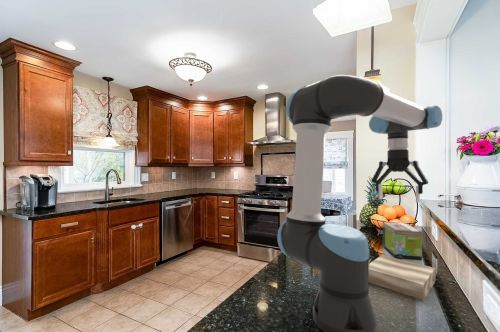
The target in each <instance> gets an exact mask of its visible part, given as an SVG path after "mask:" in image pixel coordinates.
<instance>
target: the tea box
mask: <svg viewBox="0 0 500 332" xmlns="http://www.w3.org/2000/svg"><path fill="white" fill-rule="evenodd" d="M382 255H384V256H388V257H392V258H396V259H400V260H404V261H408V262H412V263H416V264H421V265H423V231H422V230H421V229H418V228H416V227H414V226H412V225H410V224H409V223H405V222H390V221H389V222H387V221H386V222H385V221H384V222H383V221H382Z"/></svg>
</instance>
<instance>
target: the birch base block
mask: <svg viewBox="0 0 500 332" xmlns="http://www.w3.org/2000/svg"><path fill="white" fill-rule="evenodd" d="M369 283H370V284H371V285H372V284H373V285H376V286H378V287H381V288H382V287H383V288H385V289H387V290H388V289H389V290H391V291H394V292H398V293H400V294H404V295H406V296H409V297H413V298H415V299H418V300H421V301H424V300H425V298H426V297H427V296H428V294H429V292H430V291H431V289H432V288H433V286H434V285H435V283H436V267H431V266H428V265H426V264H425V265H424V264H422V265H421V264H416V263H412V262H408V261H404V260H400V259H396V258H392V257H388V256H384V255H383V254H381V255H380V256H378V257H377V258H375V259H374V260H372V261H371V262H370V263H369Z"/></svg>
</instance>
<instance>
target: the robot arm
mask: <svg viewBox="0 0 500 332" xmlns="http://www.w3.org/2000/svg"><path fill="white" fill-rule="evenodd" d="M285 111H286V116H287V117H288V120H289V122H290V123H291V124H292V130H293V131H294V132H295V133H296V142H295V158H294V172H293V186H292V187H293V188H292V199H291V200H292V203H291V204H292V205H291V210H290V211H289V212H288V213H287V214H286V218H285V220H284V221H283V222H282V223H281V226H279V228H278V231H277V238H276V239H277V244H278V247H279V249H280V251H281V252H282V253H283V255H285V256H286V257H287V258H289V259H291V260H292V261H294V262H296V263H297V262H298V263H299V264H302V265H304V266H307V267H308V268H311V269H313V270H315V271H317V272H318V273H319V286H318V287H319V288H318V291H317V293H316V297H315V300H314V302H313V306H312V319H313V322H314V324H315V326H316V327H317V326H318V327H319V328H320V329H321V330H320V329H319V328H318V327H317V328H318V329H319V330H320V331H322V330H323V331H324V332H378V319H377V316H376V313H375V310H374V306H373V304H372V301H371V297H370V295H369V294H370V292H369V291H370V289H369V287H370V285H369V264H370V263H369V262H370V251H369V240H368V238H367V236H366V235H365V234H364V233H363V232H362V231H360V230H359V229H356V228H354V227H351V226H348V225H345V224H338V223H327V221H326V220H327V219H326V218H325V217H324V215H323V214H322V213H321V212H322V211H321V210H322V196H323V184H324V183H323V182H324V181H323V179H324V178H323V177H324V163H325V147H326V145H325V144H326V134H328V132H329V131H330V130H331V129H332V121H333V120H336V119H339V118H344V117H351V116H359V117H369V116H371V117H370V119H369V121H368V127H369V130H370V131H371V132H373V133H376V134H379V135H381V134H382V135H383V134H384V135H387V136H386V137H387V146H386V147H387V149H388V150H387V159H386V160H387V161H381V160H380V161H379V164H378V167H377V169H376V171H375V173H374V175H373V177H372V178H371V183H374V184H375V185H376V187H375V190H376V192H378V200H383V197H384V196H383V194H384V193H383V192H384V190H383V189H384V188H383V187H384V186H383V183H382V182H383V181H384V180H385V179H386V178H387V177H388V176H389V175H390V173H392V172H393V173H397V172H399V173H402V172H403V173H404V172H405V173H406V174H407V175H408V176H409V178H411V179H412V181H413V182H414V183H416V185H415V203H417V204H418V203H420V201H421V200H420V199H421V198H420V197H421V195H422V194H423V193H424V192H423V191H424V190H423V188H424V187H423V186H424V185H429V181H428V179H427V177H426V176H425V174H424V173H423V171H422V169H421V168H420V166H419V160H411V161H410V160H409V157H410V156H409V155H410V154H409V153H410V152H409V150H408V149H409V131H419V130H420V131H421V130H426V129H427V130H429V129H436V128H438V127H440V126H441V125H442V121H443V111H442V109H441V106H439V105H437V104H435V105H427V106H422V105H419V104H417V103H415V102H413V101H410V100H408V99H405V98H403V97H400V96H398V95H396V94H393V93H391V92H389V91H387V90H385V89H384V88H383V86H382V85H381V84H380V83H378V82H376V81H373V80H371V79H368V78H365V77H360V76H356V75H348V74H337V75H332V76H329V77H326V78H324V79H322V80H319V81H316V82H314V83H311V84H309V85H304V86H302V87H300V88H299V89H297V90H294V92H292V93H291V94H290V95H289V97H288V99H287V102H286V105H285ZM410 165H411V166H412V167H413V168H414V170H415V171H416V174H417V175H418V176H419V177H417V176H416V175H415V173H414V172H412V171H411V169H410V168H409V166H410ZM385 166H387V168H386V169H385V171H384V172H383V173H382V171H383V169H384V167H385ZM381 173H382V175H381ZM380 175H381V176H380ZM323 331H322V332H323Z"/></svg>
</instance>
